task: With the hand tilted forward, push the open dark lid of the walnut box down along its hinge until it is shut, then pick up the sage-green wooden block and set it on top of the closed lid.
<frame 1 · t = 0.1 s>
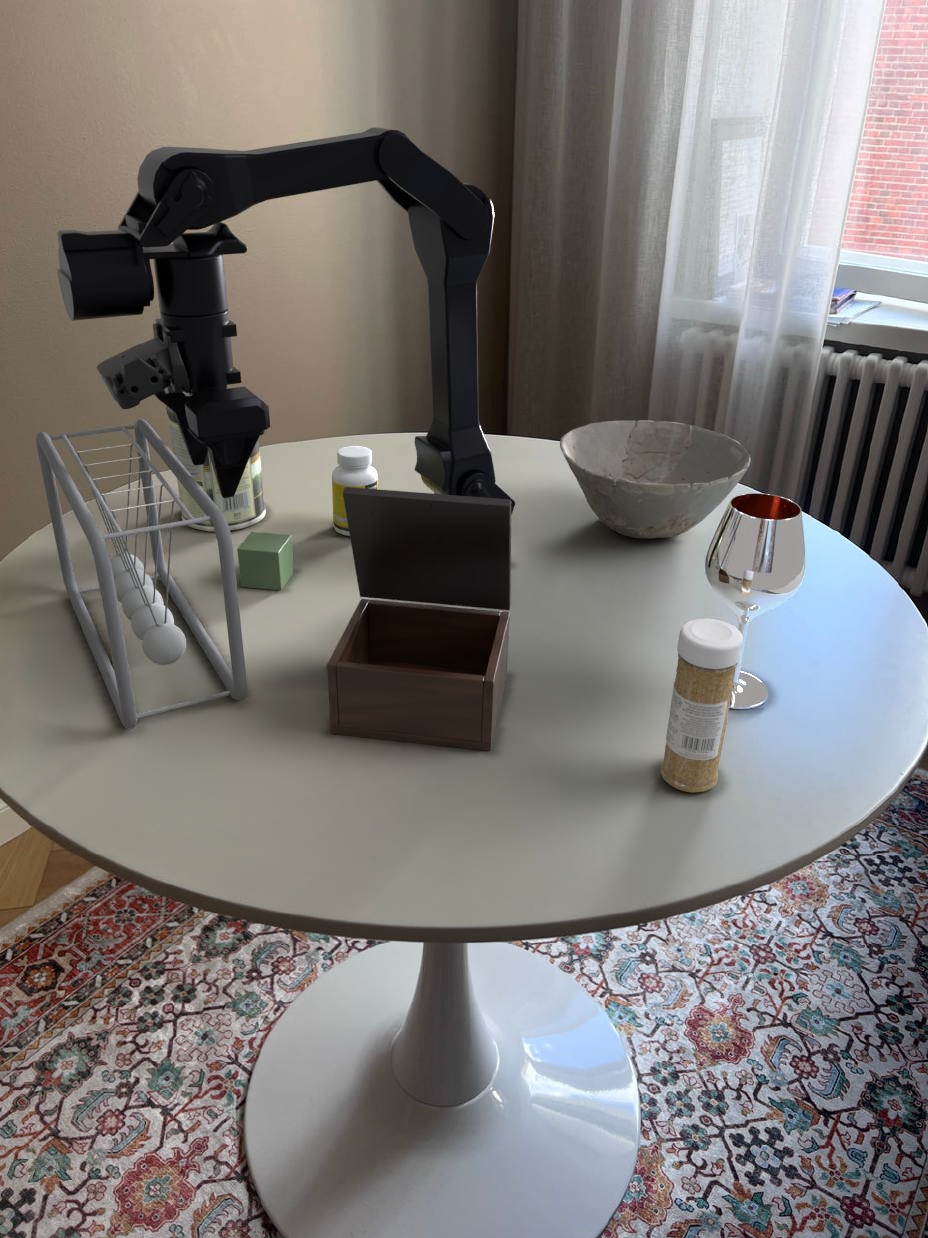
hand: (212, 480, 93), 15 cm above the table, tool pointing down, fingers open, 9 cm apart
newton's cradle: (149, 645, 95), on the table
wineglass: (731, 691, 90), on the table
coffee can: (223, 516, 122), on the table
sprinkles bottle: (687, 779, 79), on the table
supplement bottle: (356, 530, 119), on the table
ceramic bowl: (644, 526, 122), on the table
walnut box: (422, 703, 87), on the table
lid: (430, 551, 84), point 13 cm above the table, hinge at 70.0°
block: (267, 579, 107), on the table
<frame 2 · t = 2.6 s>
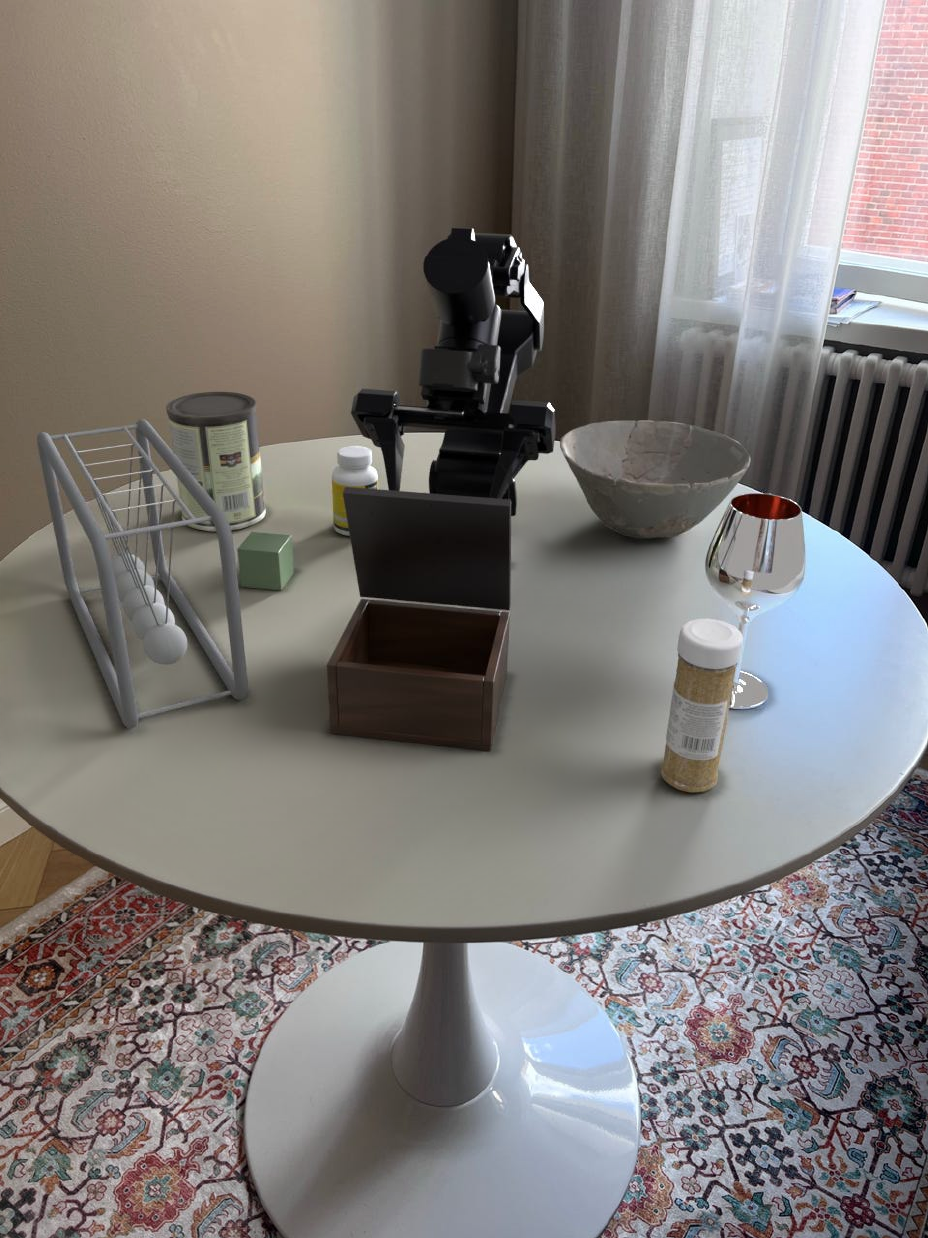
hand: (441, 506, 91), 14 cm above the table, tool tilted 45°, fingers open, 9 cm apart
nothing on the table moved.
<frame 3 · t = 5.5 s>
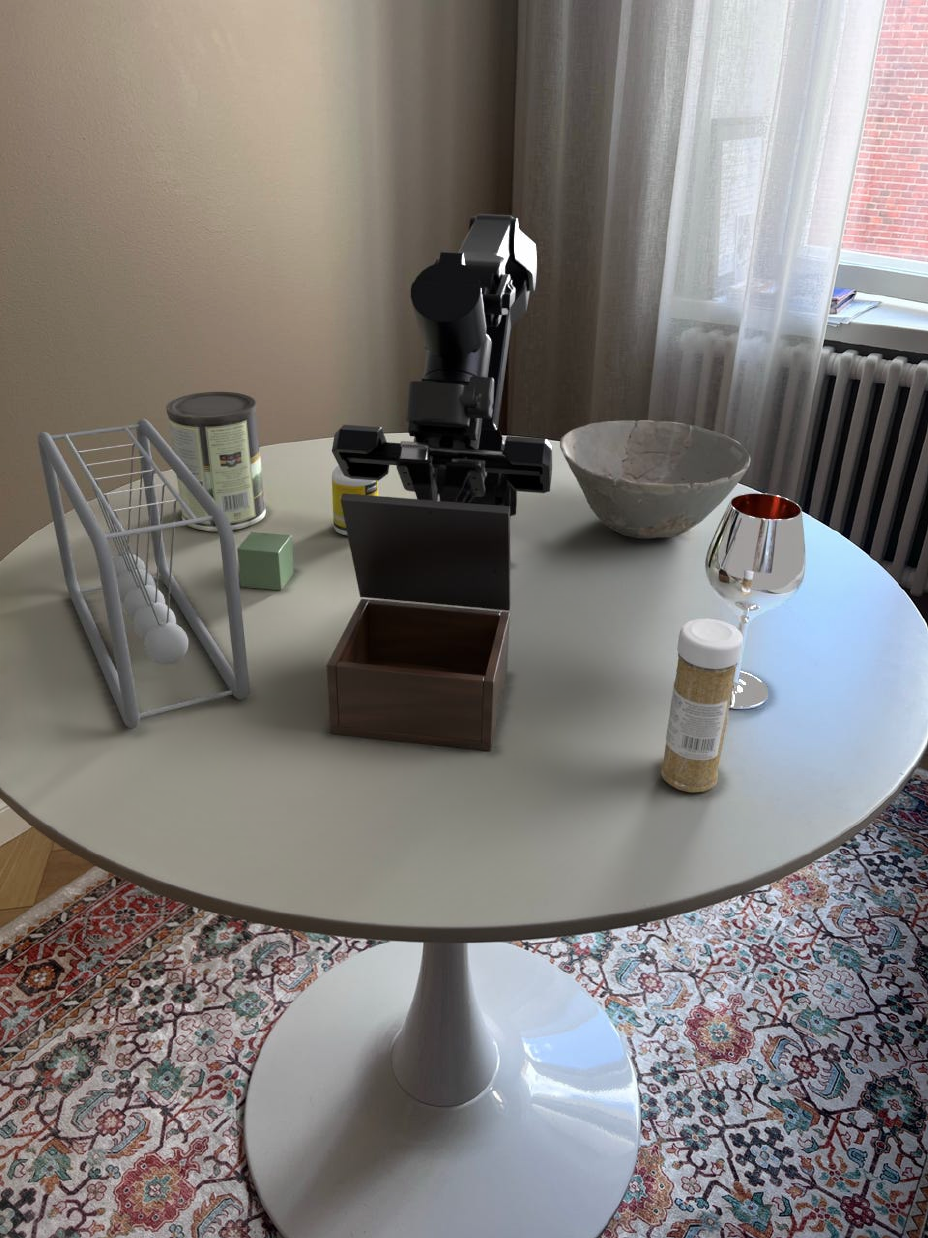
hand: (431, 550, 84), 13 cm above the table, tool tilted 45°, fingers closed, pressing on lid
lid: (430, 554, 83), point 13 cm above the table, hinge at 66.3°, touching gripper
everything else where it was.
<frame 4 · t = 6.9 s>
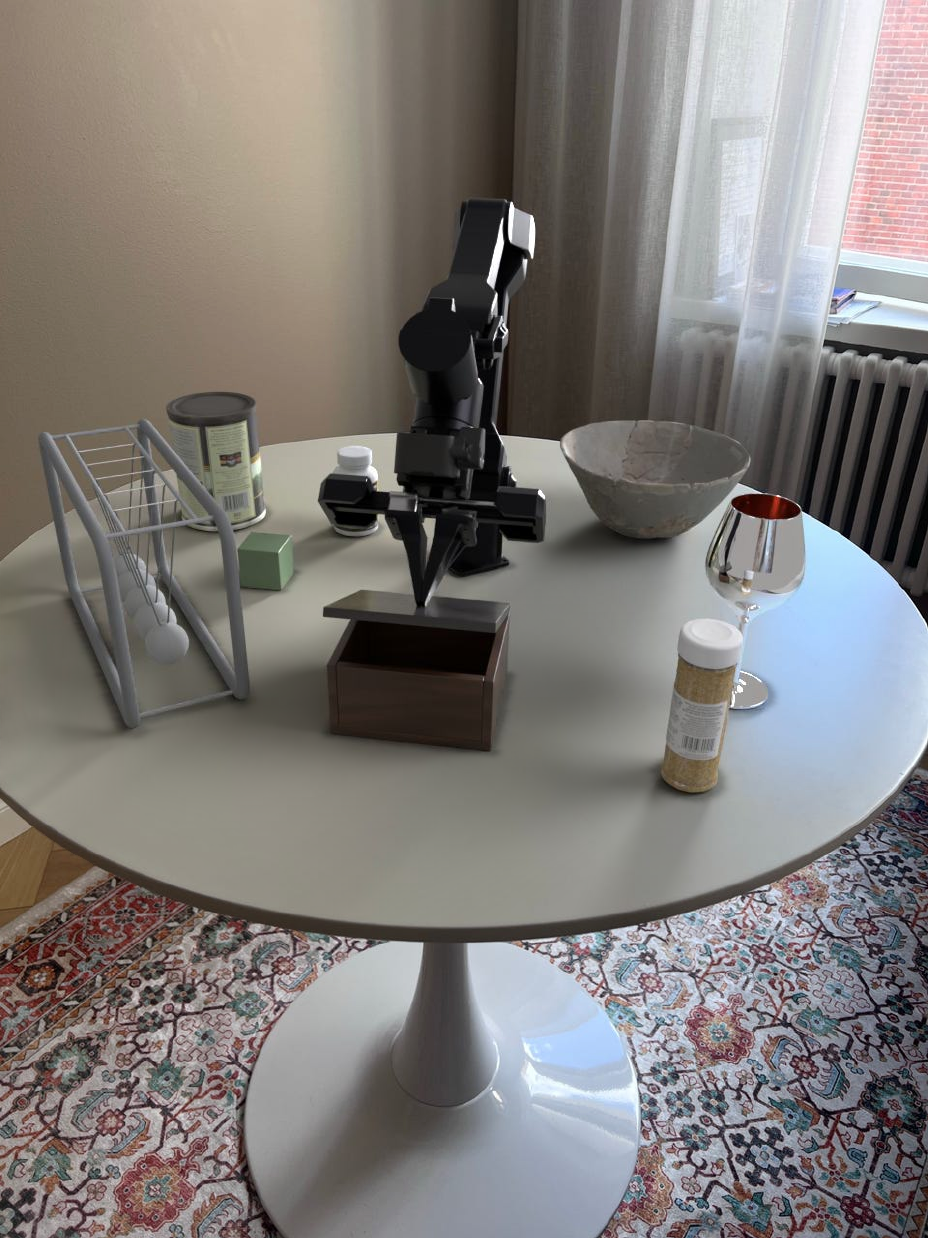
hand: (420, 604, 81), 10 cm above the table, tool tilted 45°, fingers closed, pressing on lid
lid: (422, 609, 82), point 9 cm above the table, hinge at 20.9°, touching gripper
everything else where it was.
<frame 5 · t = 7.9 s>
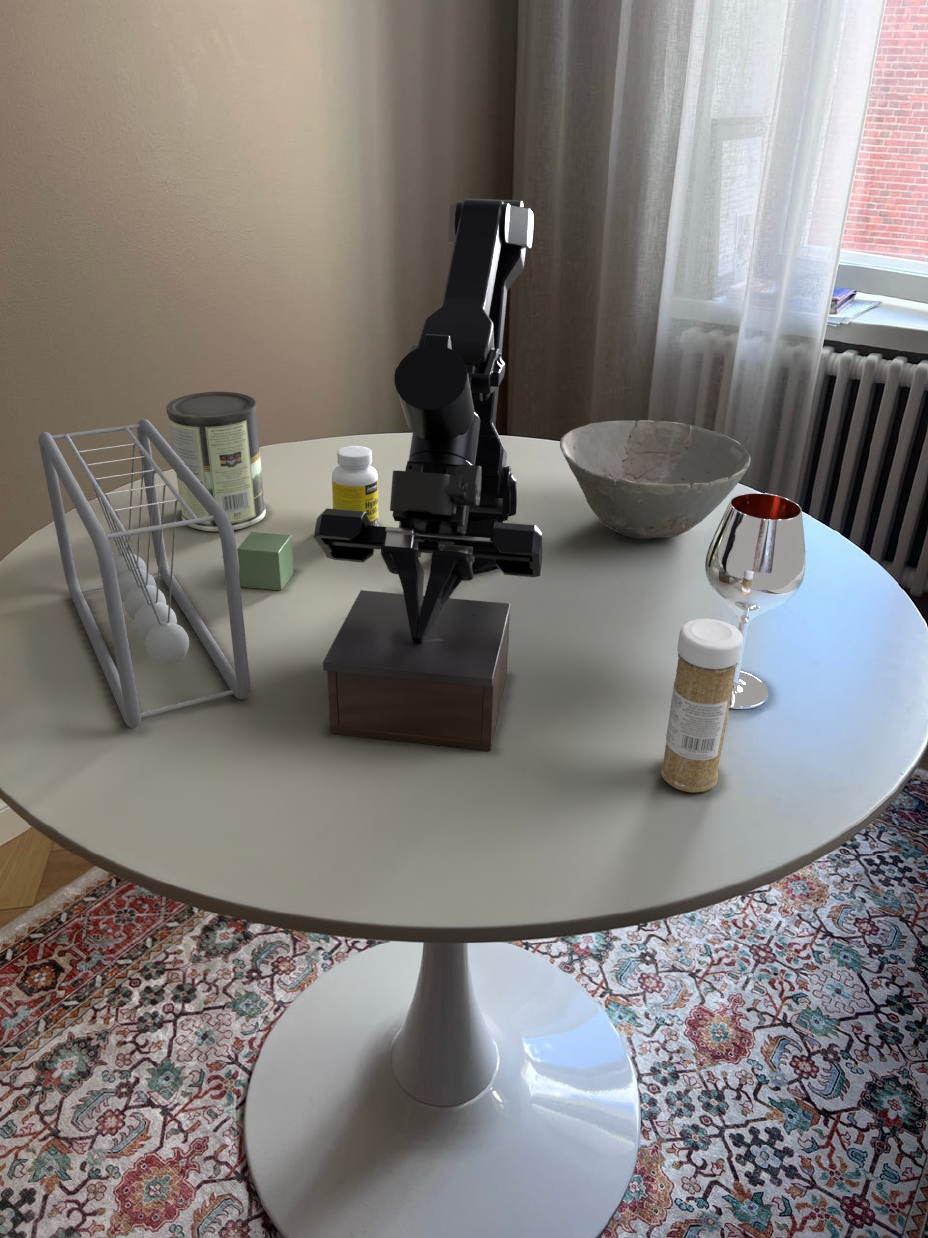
hand: (417, 641, 81), 8 cm above the table, tool tilted 45°, fingers closed, pressing on lid
lid: (421, 635, 83), point 7 cm above the table, hinge at 0.0°, touching gripper
everything else where it was.
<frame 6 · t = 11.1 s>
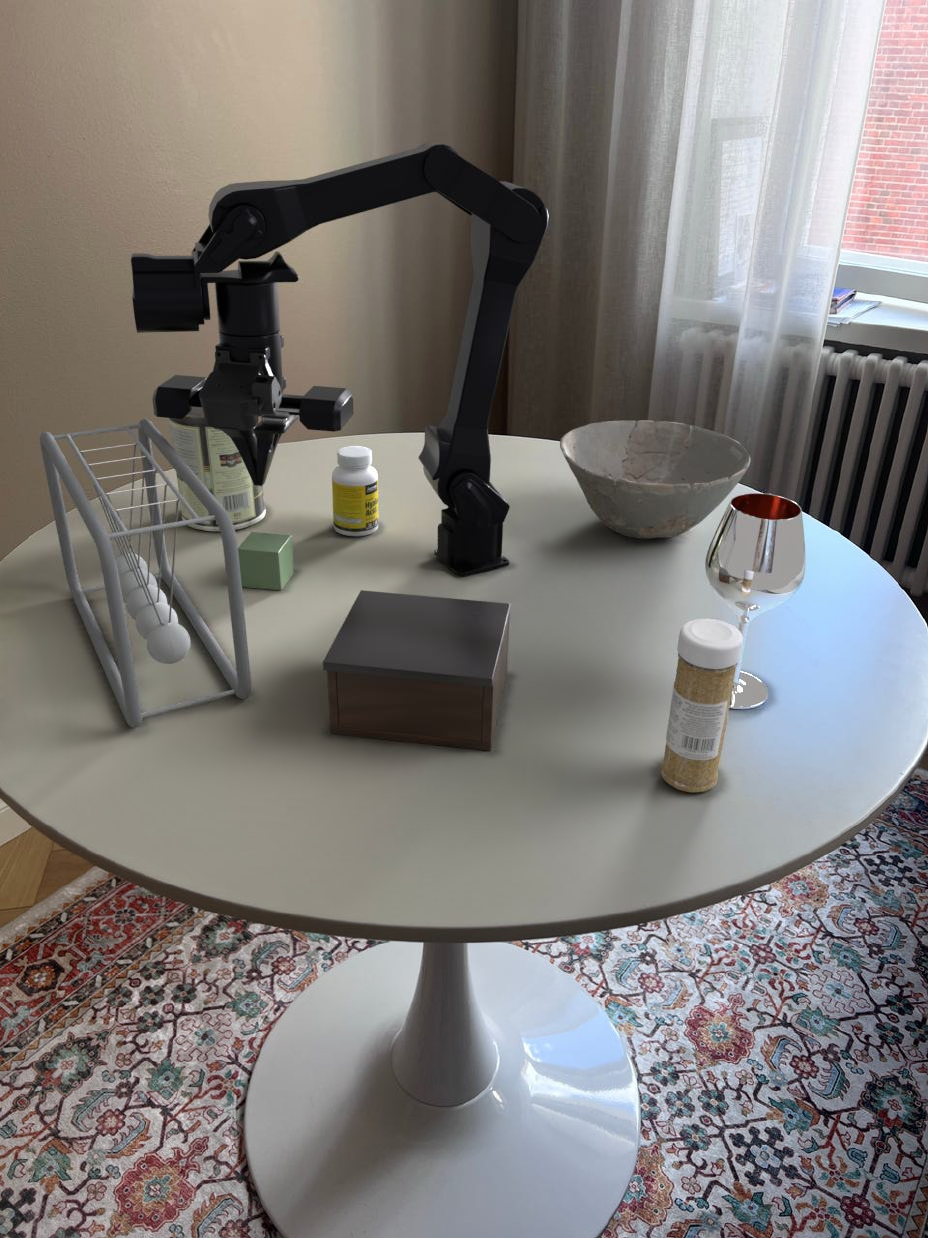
hand: (259, 484, 101), 11 cm above the table, tool pointing down, fingers closed
lid: (421, 635, 83), point 7 cm above the table, hinge at 0.0°
everything else where it was.
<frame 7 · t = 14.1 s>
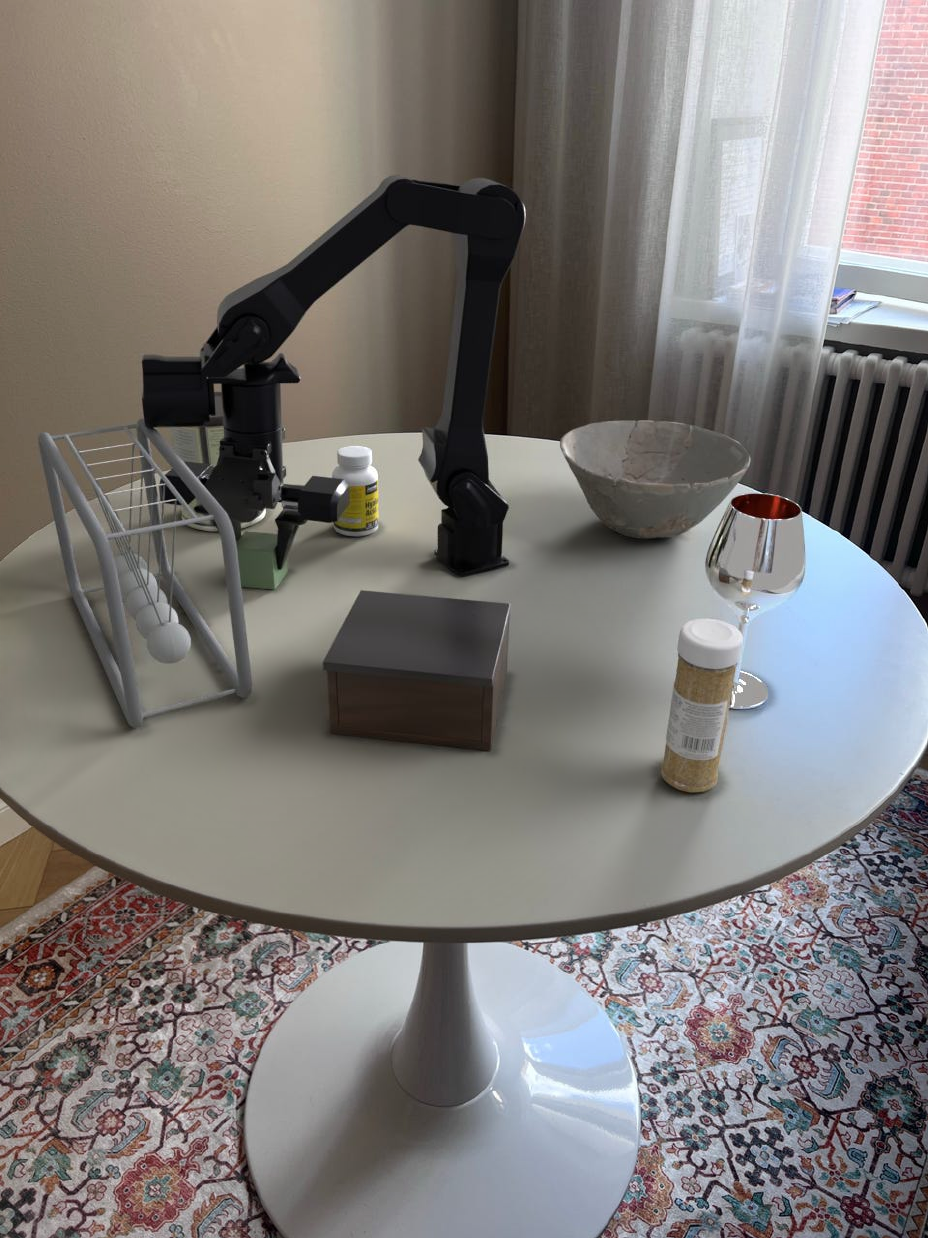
hand: (258, 565, 106), 2 cm above the table, tool pointing down, fingers closed on block, 4 cm apart
newton's cradle: (153, 643, 95), on the table, touching arm
block: (261, 578, 107), on the table, touching gripper
everything else where it was.
when the fingers open (9 cm above the table, at t = 18.7 s): block stays where it is, resting on lid.
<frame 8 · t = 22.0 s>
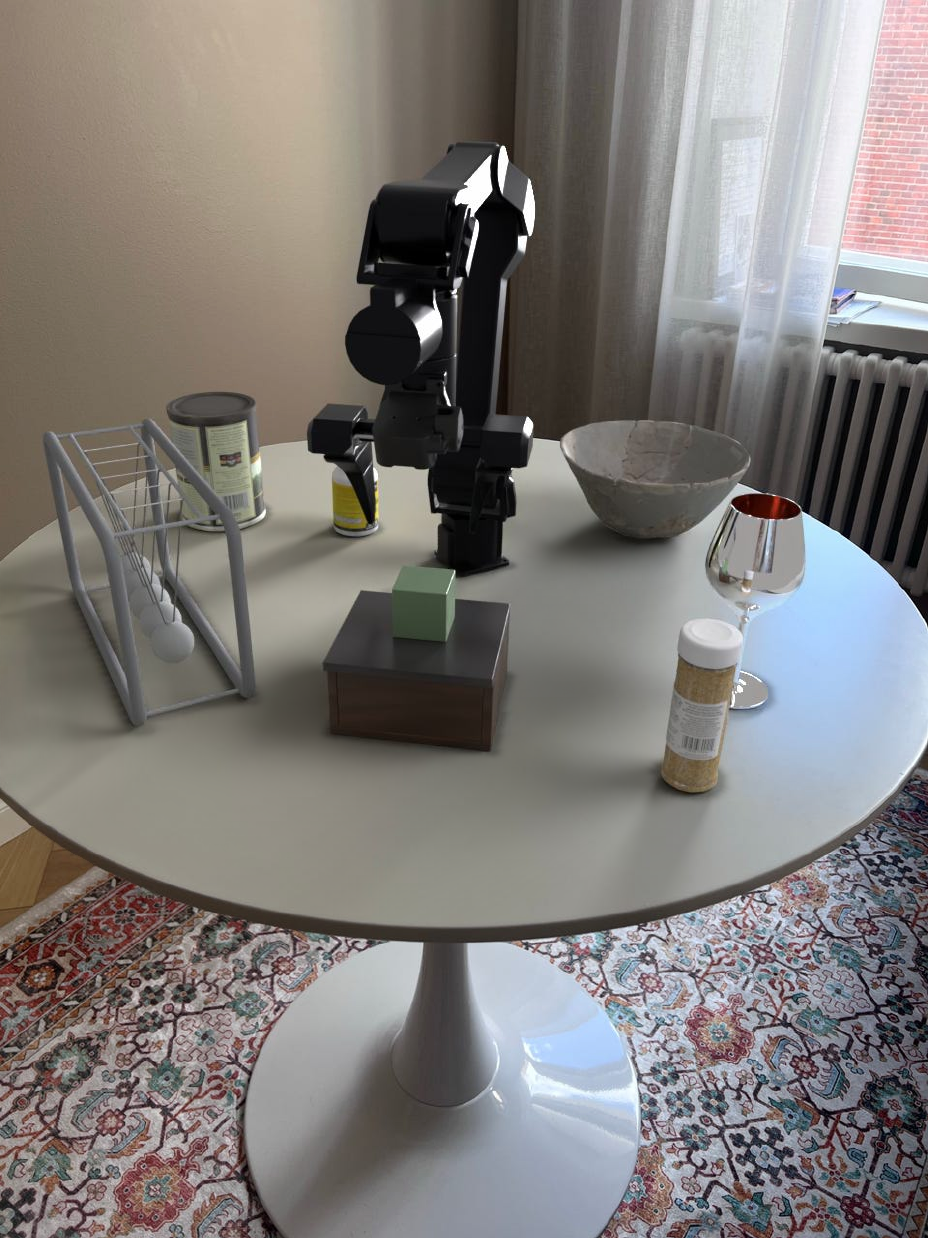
hand: (421, 527, 88), 13 cm above the table, tool pointing down, fingers open, 9 cm apart
newton's cradle: (156, 643, 95), on the table
lid: (421, 635, 83), point 7 cm above the table, hinge at -0.3°, touching block, walnut box
block: (424, 626, 84), point 8 cm above the table, touching lid
everything else where it was.
at the end: lid at +0° (first picture: +70°); block inside the target area on the walnut box (0.4 cm from its centre), point 7.6 cm above the walnut box's base; block tilted 0° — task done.
